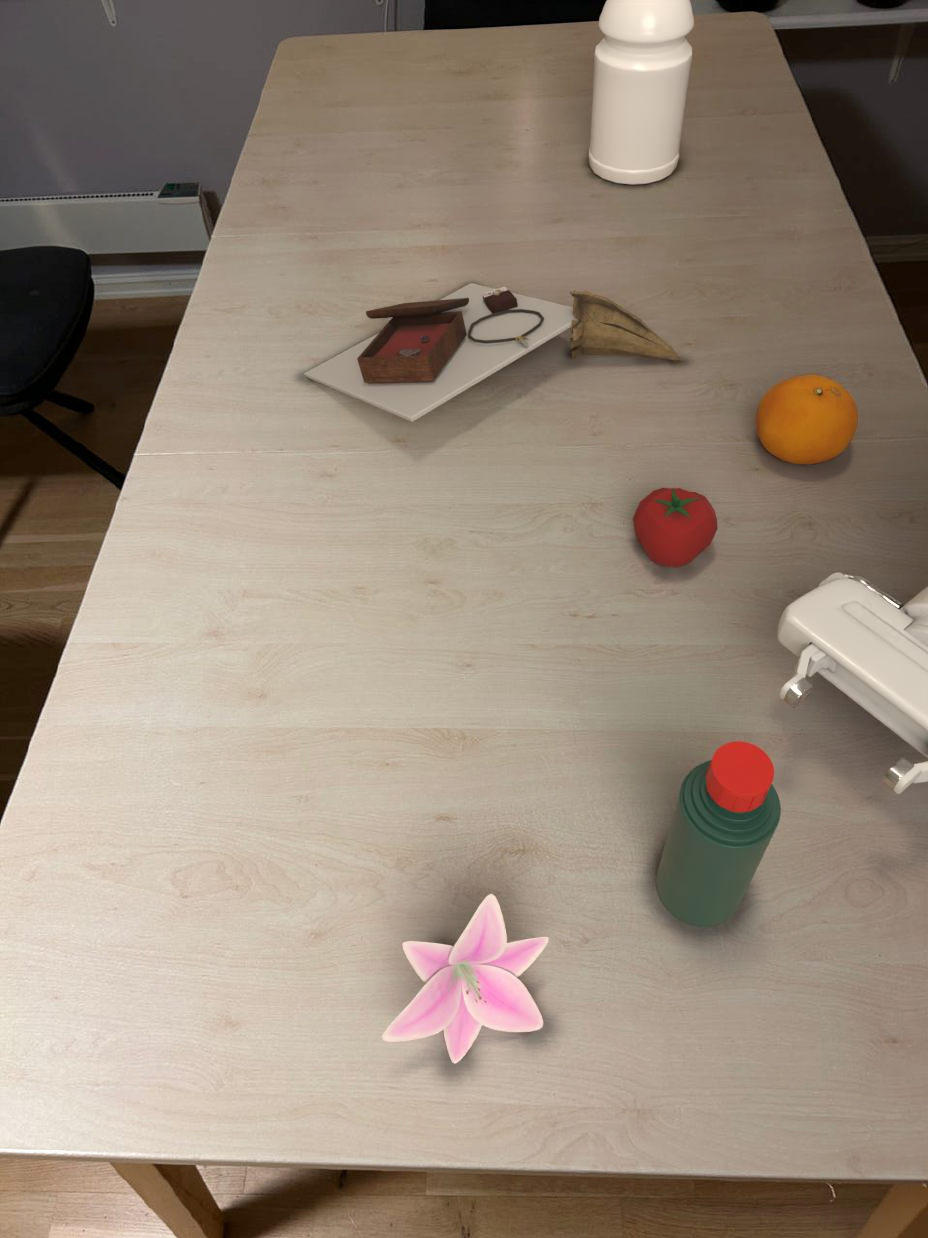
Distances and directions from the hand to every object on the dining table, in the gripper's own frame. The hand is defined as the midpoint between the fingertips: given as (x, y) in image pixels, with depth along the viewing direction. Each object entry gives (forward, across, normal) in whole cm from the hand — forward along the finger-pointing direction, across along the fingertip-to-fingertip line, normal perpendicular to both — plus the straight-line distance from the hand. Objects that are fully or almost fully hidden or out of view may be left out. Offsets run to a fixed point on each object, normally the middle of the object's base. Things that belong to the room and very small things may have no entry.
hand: (837, 739), depth 69 cm
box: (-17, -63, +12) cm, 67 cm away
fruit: (-34, -29, +12) cm, 46 cm away
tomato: (-12, -27, +11) cm, 32 cm away
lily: (+31, -5, +10) cm, 33 cm away
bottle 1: (-67, -88, +13) cm, 112 cm away
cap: (+12, -1, -8) cm, 14 cm away
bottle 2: (+12, -1, +10) cm, 16 cm away
